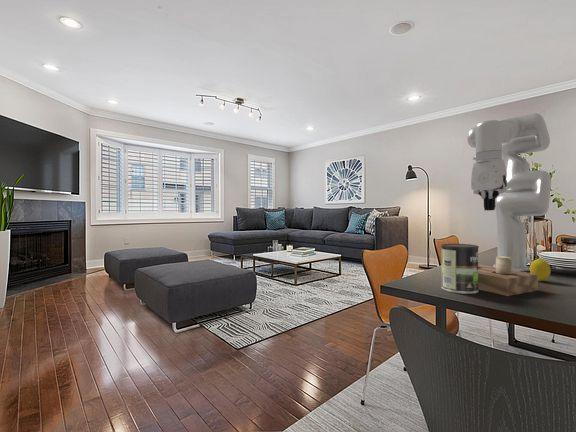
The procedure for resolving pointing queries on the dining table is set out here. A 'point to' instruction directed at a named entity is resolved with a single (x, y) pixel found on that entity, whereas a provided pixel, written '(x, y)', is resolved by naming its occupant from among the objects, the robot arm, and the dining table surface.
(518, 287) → the mortise block
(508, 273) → the dowel
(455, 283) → the coffee can
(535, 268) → the lemon
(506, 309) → the dining table surface
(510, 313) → the dining table surface
